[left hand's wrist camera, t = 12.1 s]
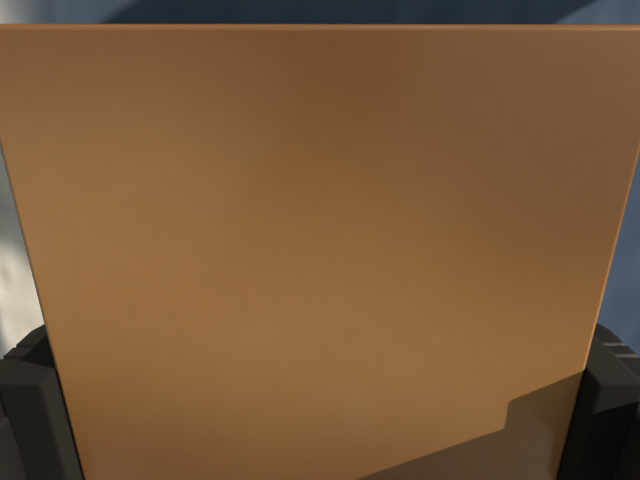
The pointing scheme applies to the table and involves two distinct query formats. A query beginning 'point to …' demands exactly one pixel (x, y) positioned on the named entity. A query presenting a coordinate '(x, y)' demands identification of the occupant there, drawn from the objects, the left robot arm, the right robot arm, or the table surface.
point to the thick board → (320, 239)
